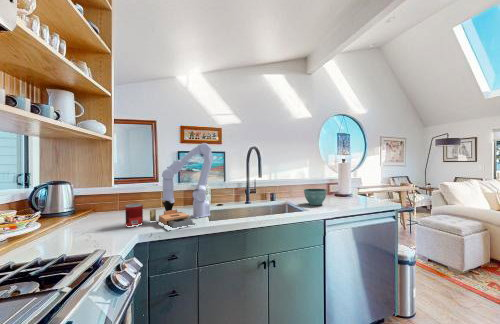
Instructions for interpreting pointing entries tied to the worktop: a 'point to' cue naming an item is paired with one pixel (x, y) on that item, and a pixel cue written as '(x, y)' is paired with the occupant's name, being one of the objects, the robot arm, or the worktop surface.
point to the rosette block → (180, 222)
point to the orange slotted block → (171, 216)
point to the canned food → (134, 214)
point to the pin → (153, 215)
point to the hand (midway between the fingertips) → (168, 214)
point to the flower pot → (315, 196)
